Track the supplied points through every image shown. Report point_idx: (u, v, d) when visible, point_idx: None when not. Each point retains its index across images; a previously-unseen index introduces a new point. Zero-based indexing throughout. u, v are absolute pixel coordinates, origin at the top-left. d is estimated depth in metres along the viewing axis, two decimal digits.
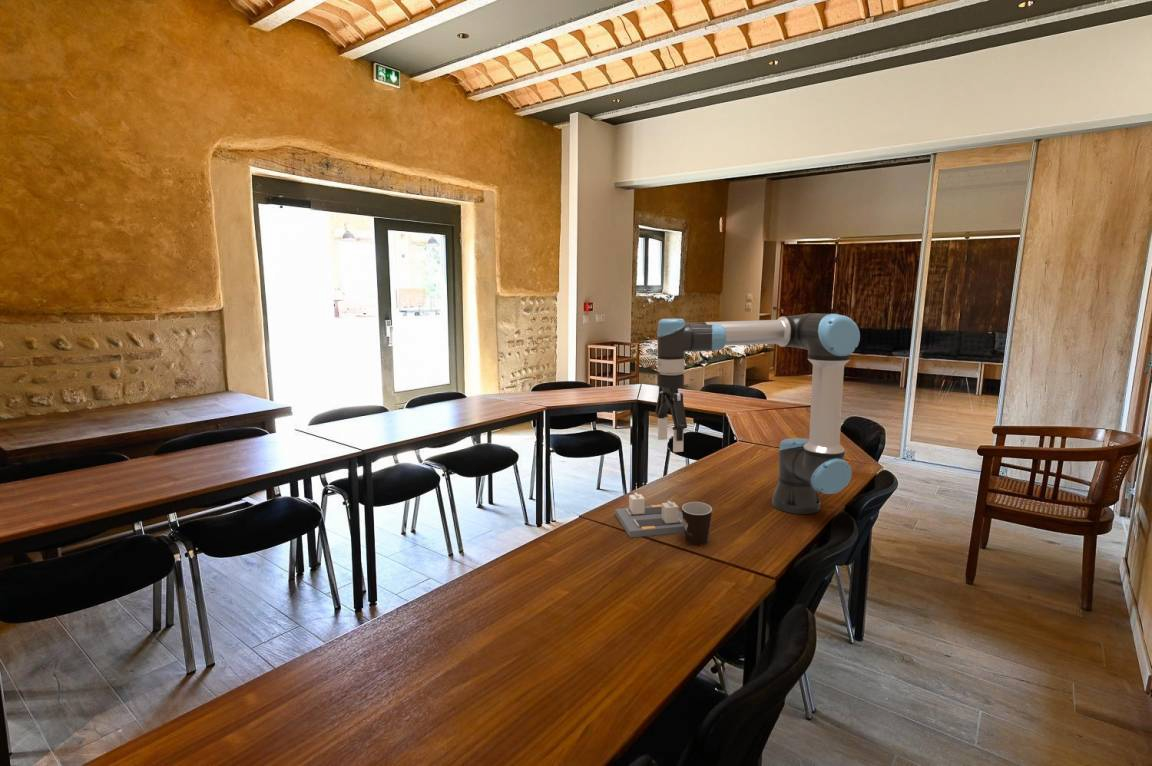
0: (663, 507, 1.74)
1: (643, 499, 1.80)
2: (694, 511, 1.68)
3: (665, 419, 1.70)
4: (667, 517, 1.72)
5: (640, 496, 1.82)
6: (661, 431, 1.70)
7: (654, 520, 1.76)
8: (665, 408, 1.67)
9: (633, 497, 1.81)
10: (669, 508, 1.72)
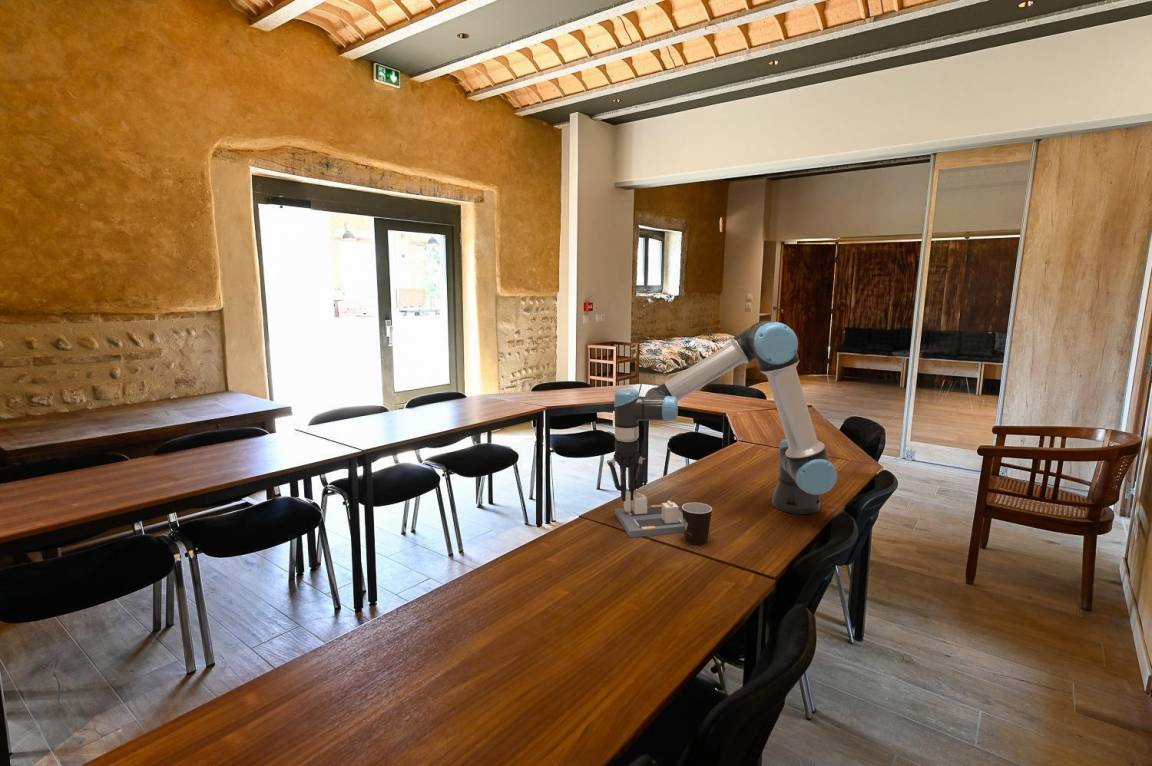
0: (663, 507, 1.74)
1: (646, 499, 1.80)
2: (694, 512, 1.68)
3: None
4: (667, 517, 1.72)
5: (642, 496, 1.82)
6: None
7: (654, 520, 1.76)
8: (629, 475, 1.80)
9: (635, 497, 1.81)
10: (669, 508, 1.72)
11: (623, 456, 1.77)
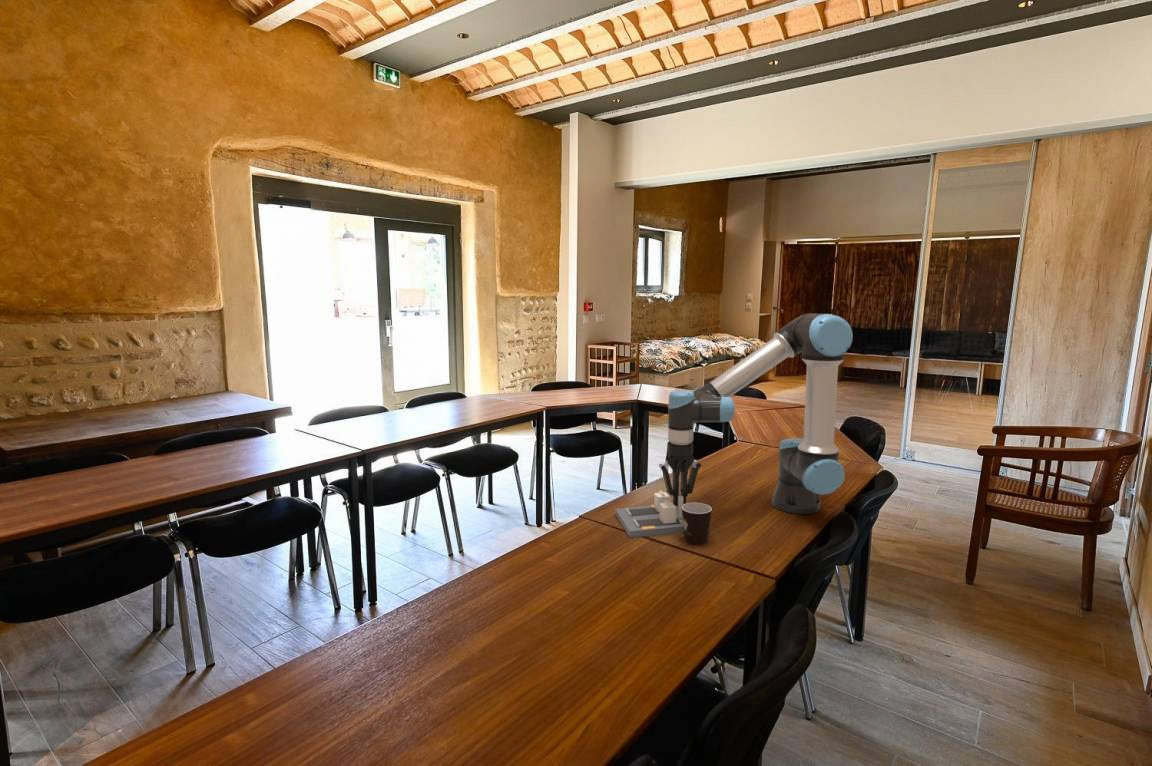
0: (661, 507, 1.74)
1: (668, 497, 1.81)
2: (694, 512, 1.68)
3: (680, 497, 1.73)
4: (665, 517, 1.72)
5: (665, 494, 1.83)
6: None
7: (654, 520, 1.76)
8: (681, 479, 1.73)
9: (658, 495, 1.82)
10: (667, 508, 1.72)
11: (677, 459, 1.71)
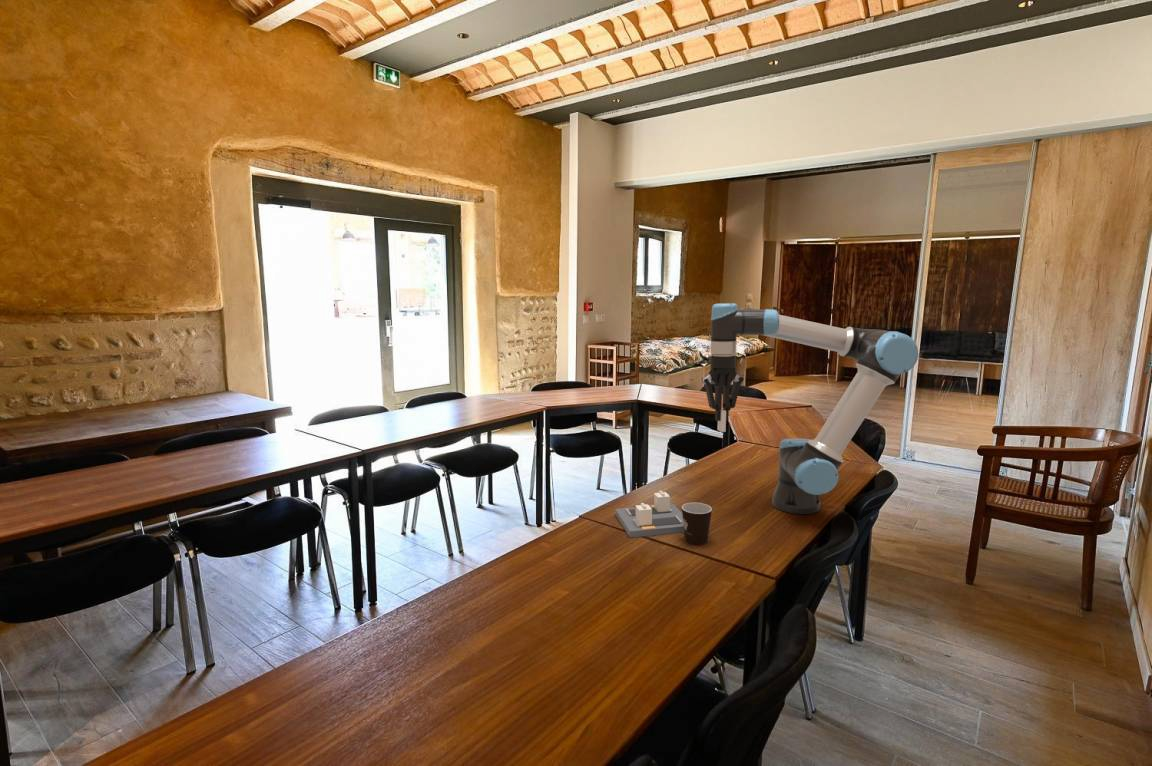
0: (637, 509, 1.73)
1: (668, 497, 1.81)
2: (694, 512, 1.68)
3: None
4: (640, 519, 1.71)
5: (665, 494, 1.83)
6: None
7: (654, 520, 1.76)
8: (724, 393, 1.73)
9: (658, 495, 1.82)
10: (642, 510, 1.71)
11: (720, 373, 1.71)
